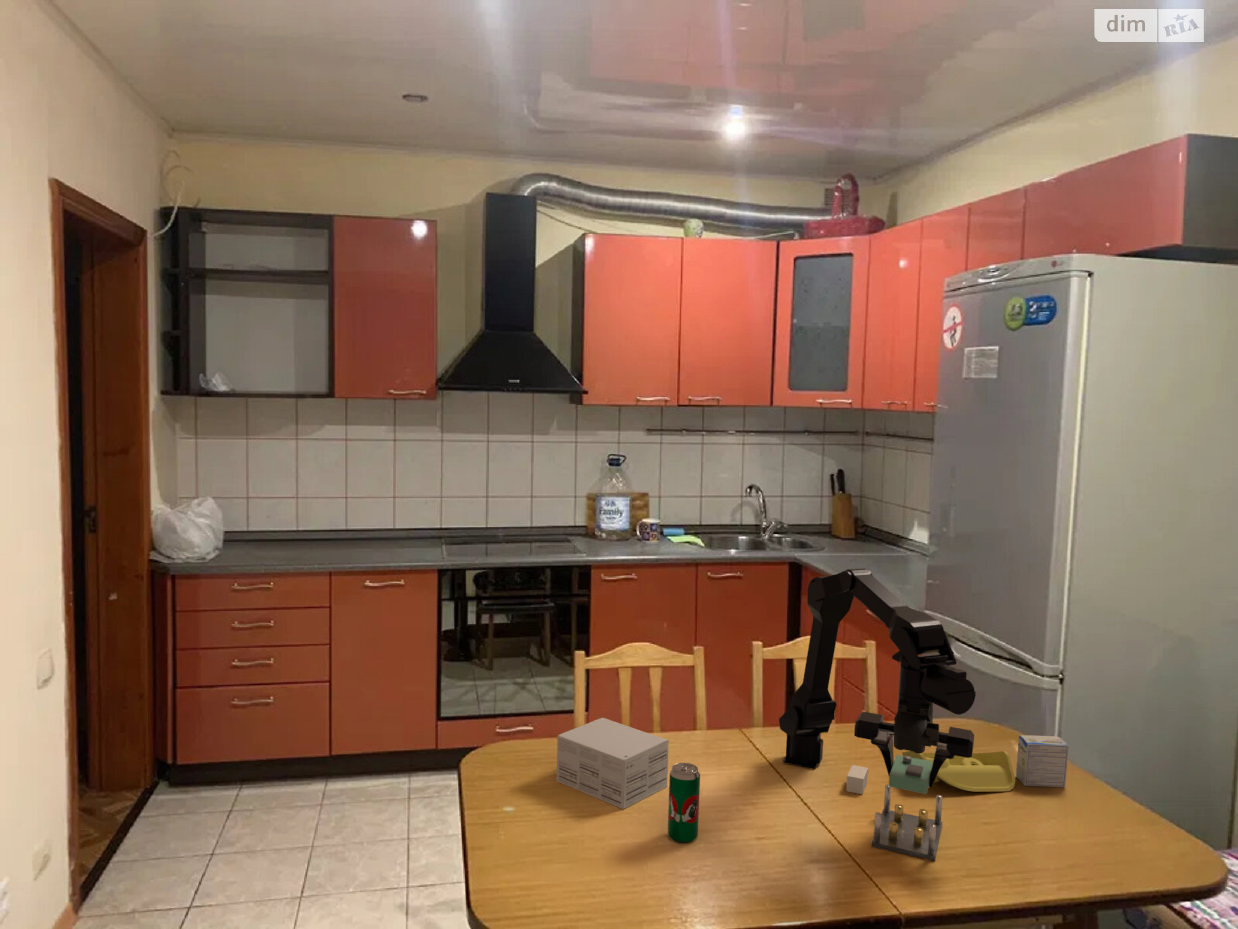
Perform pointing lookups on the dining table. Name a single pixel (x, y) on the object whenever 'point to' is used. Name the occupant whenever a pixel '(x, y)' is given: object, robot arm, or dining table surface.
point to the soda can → (683, 802)
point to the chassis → (907, 830)
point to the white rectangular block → (857, 779)
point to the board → (910, 774)
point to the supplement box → (612, 762)
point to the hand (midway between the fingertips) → (910, 782)
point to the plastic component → (974, 771)
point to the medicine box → (1042, 761)
